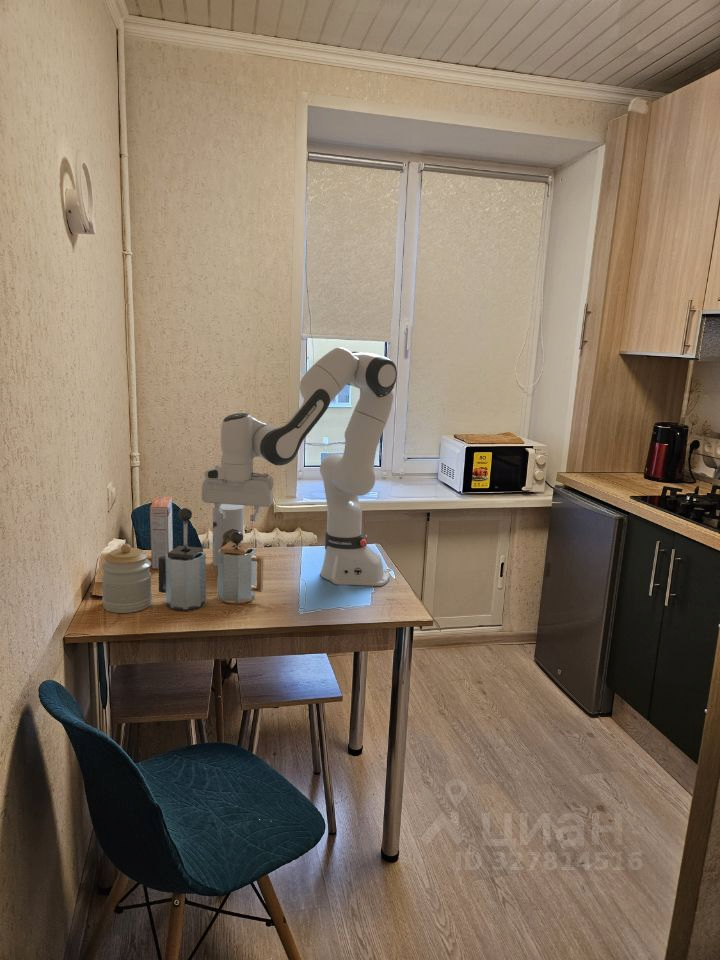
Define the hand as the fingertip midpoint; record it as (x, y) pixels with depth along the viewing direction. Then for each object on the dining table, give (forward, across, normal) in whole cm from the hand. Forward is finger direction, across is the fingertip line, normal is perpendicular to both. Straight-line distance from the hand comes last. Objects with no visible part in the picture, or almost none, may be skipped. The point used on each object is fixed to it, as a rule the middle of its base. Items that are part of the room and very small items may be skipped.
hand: (237, 519), depth 188 cm
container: (+24, +14, -28) cm, 39 cm away
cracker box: (+24, +34, -22) cm, 47 cm away
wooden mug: (+24, +8, -14) cm, 29 cm away
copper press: (+24, -1, 0) cm, 24 cm away
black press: (+23, +14, +8) cm, 28 cm away
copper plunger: (+21, +1, 0) cm, 21 cm away
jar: (+23, +28, +14) cm, 38 cm away
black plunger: (+12, +12, +8) cm, 19 cm away
